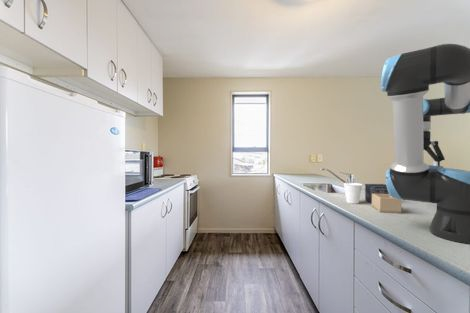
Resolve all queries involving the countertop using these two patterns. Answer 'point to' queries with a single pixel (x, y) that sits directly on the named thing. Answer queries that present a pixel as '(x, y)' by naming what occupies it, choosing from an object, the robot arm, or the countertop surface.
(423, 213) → the countertop surface
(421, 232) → the countertop surface
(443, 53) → the robot arm
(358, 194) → the cup
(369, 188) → the small box
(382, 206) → the tray
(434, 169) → the lid
